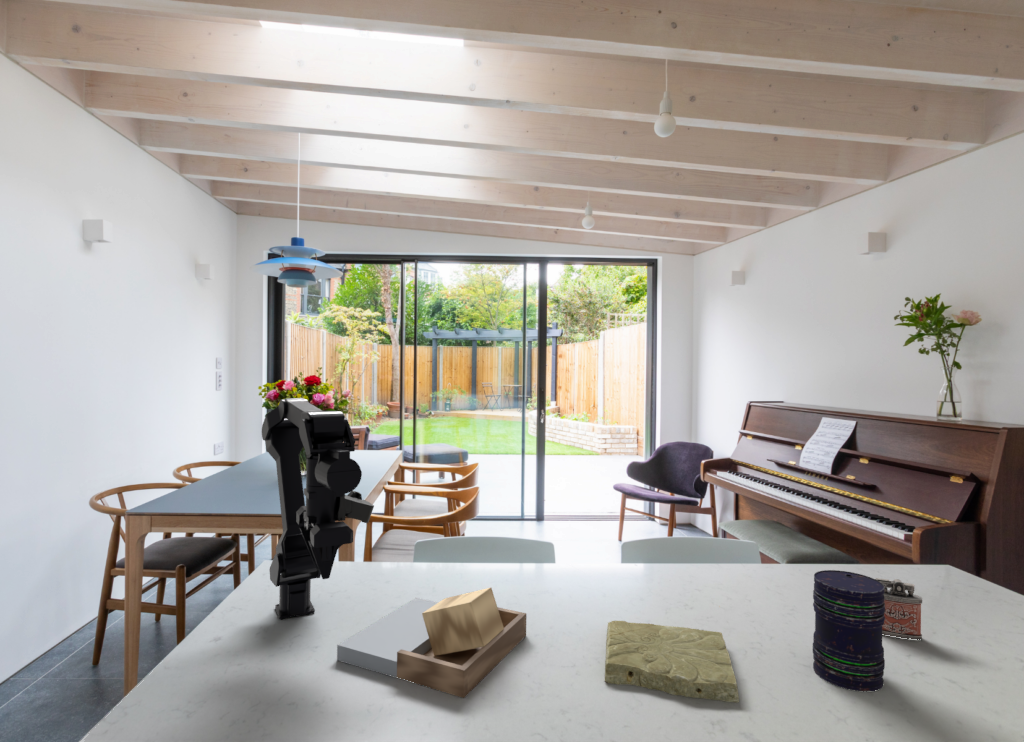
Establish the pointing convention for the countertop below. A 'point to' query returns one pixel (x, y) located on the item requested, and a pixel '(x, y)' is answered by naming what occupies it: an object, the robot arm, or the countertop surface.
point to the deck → (388, 639)
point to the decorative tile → (670, 660)
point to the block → (463, 622)
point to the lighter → (901, 610)
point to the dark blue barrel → (848, 630)
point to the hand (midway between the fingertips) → (322, 573)
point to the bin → (462, 660)
